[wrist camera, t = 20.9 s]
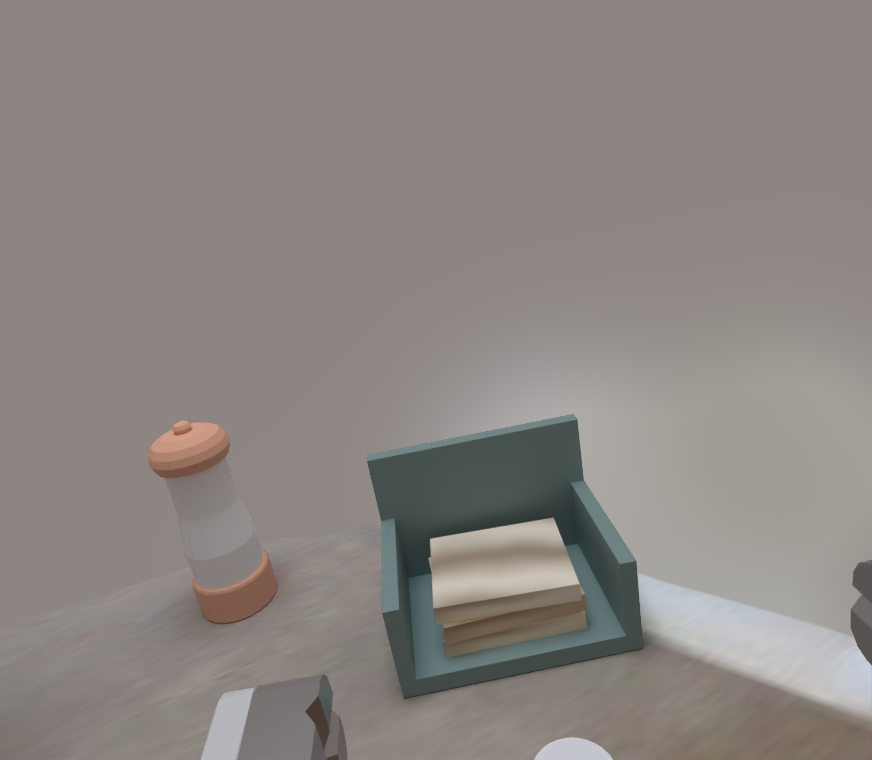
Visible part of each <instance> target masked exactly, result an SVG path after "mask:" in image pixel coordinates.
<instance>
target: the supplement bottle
mask: <svg viewBox="0 0 872 760" xmlns="http://www.w3.org/2000/svg"><path fill="white" fill-rule="evenodd" d="M534 760H613V759H612V757H611V756H610V755H609V754H608V753H607V752H606V751H605V750H604V749H603V748H602V747H600V746H599V745H597V744H595V743H593V742H591V741H588V740H585V739H581V738H563V739H559V740H556V741H553V742H551V743H549V744H548V745H546V746H545V747H544V748H543V749H541V751H540V752H539V753H538V754H537V755H536V757H535V759H534Z"/></svg>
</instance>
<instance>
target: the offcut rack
mask: <svg viewBox="0 0 872 760" xmlns="http://www.w3.org/2000/svg"><path fill="white" fill-rule="evenodd" d="M367 463H368V467H369V471H370V475H371V480H372V484H373V488H374V492H375V496H376V500H377V505H378V509H379V513H380V517H381V535H382V614H383V618H384V622H385V626H386V630H387V634H388V638H389V642H390V645H391V649H392V653H393V657H394V661H395V665H396V669H397V673H398V677H399V681H400V685H401V689H402V693H403V697H404V698H407V697H412V696H417V695H422V694H426V693H431V692H436V691H441V690H446V689H450V688H455V687H460V686H465V685H470V684H474V683H479V682H484V681H489V680H494V679H498V678H503V677H508V676H513V675H517V674H522V673H527V672H532V671H537V670H541V669H546V668H551V667H556V666H561V665H565V664H570V663H575V662H580V661H584V660H589V659H594V658H599V657H604V656H608V655H613V654H618V653H623V652H628V651H632V650H637V649H642V648H643V642H642V629H641V616H640V603H639V590H638V578H637V565H636V560H635V558H634V557H633V555H632V554H631V552H630V551H629V549H628V547H627V546H626V544H625V543H624V541H623V540H622V538H621V537H620V535H619V534H618V532H617V530H616V529H615V527H614V526H613V524H612V523H611V521H610V520H609V518H608V517H607V515H606V514H605V512H604V511H603V509H602V507H601V506H600V504H599V503H598V501H597V500H596V498H595V497H594V495H593V494H592V492H591V491H590V489H589V487H588V486H587V485H586V483H585V481H584V478H583V470H582V460H581V451H580V441H579V431H578V422H577V418H576V417H575V416H574V415H573V414H572V415H566V416H561V417H557V418H552V419H546V420H541V421H536V422H531V423H527V424H522V425H517V426H511V427H507V428H502V429H496V430H491V431H486V432H481V433H476V434H471V435H466V436H461V437H456V438H451V439H446V440H441V441H436V442H431V443H426V444H421V445H415V446H410V447H406V448H401V449H396V450H390V451H386V452H380V453H375V454H370V455H368V456H367ZM548 518H554V520H555V522H556V525H557V528H558V530H559V533H560V535H561V538H562V540H563V543H564V545H565V548H566V550H567V553H568V556H569V558H570V561H571V563H572V566H573V568H574V571H575V573H576V576H577V578H578V581H579V583H580V586H581V587H582V589H583V591H584V593H585V596H586V605H587V610H584V611H585V614H586V623H587V629H583V630H578V631H573V632H568V633H563V634H558V635H554V636H549V637H544V638H539V639H534V640H530V641H525V642H520V643H515V644H510V645H505V646H501V647H496V648H491V649H486V650H481V651H477V652H472V653H467V654H462V655H457V656H453V657H448V658H447V656H446V651H445V647H444V642H443V634H442V627H441V624H437V623H436V618H435V614H434V609H433V590H432V573H431V568H430V563H429V559H428V558H430V557H431V548H430V539H432V538H437V537H443V536H449V535H455V534H461V533H467V532H472V531H478V530H484V529H490V528H496V527H501V526H507V525H513V524H519V523H525V522H531V521H536V520H542V519H548Z"/></svg>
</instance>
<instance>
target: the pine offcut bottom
mask: <svg viewBox="0 0 872 760" xmlns="http://www.w3.org/2000/svg"><path fill="white" fill-rule="evenodd" d="M441 627H442V634H443V642H444V647H445V651H446V656H447V658H448V657H453V656H457V655H462V654H467V653H472V652H477V651H481V650H486V649H491V648H496V647H501V646H505V645H510V644H515V643H520V642H525V641H530V640H534V639H539V638H544V637H549V636H554V635H558V634H563V633H568V632H573V631H578V630H583V629H587V623H586V614H585V611H580V612H576V613H572V614H568V615H564V616H560V617H556V618H552V619H548V620H544V621H540V622H536V623H532V624H527V625H523V626H519V627H515V628H511V629H507V630H503V631H499V632H495V633H491V634H487V635H483V636H479V637H475V638H471V639H467V640H463V641H459V642H455V643H451V644H447V642H446V637H445V632H444V628H443V624H441Z"/></svg>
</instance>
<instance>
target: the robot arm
mask: <svg viewBox="0 0 872 760" xmlns="http://www.w3.org/2000/svg"><path fill="white" fill-rule="evenodd" d="M853 586H854V587H855V588H856V589H857V590H858V591H859V593H860V594H861V596H860V598H859V599H858V600H857V602H856V603H855V604H854V606H853V607H852V608H851V629H852V632H853V635H854V638H855V640H856V643H857V646H858V647H859V649H860V650H861V652H862V653H863V655H864V656H865V658H866V659H867V661H868V662H869V663H870V664H871V665H872V560H869V561H865V562H860V563H859V564H858V565H857V567H856V568H855V570H854V573H853ZM332 697H333V693H332V690H331V687H330V684H329V681H328V678H327V676H325V675H323V674H322V675H316V676H311V677H305V678H300V679H294V680H289V681H283V682H278V683H272V684H267V685H261V686H258V687H256V688H250V689H244V690H238V691H232V692H227V693H224V694H223V696H222V697H221V698H220V700H219V701H218V703H217V706H216V709H215V712H214V716H213V719H212V722H211V726H210V729H209V732H208V735H207V739H206V742H205V745H204V749H203V752H202V755H201V759H200V760H347V747H346V740H345V735H344V729H343V726H342V722H341V719H340V716H339V715H337V714H336V713H334V712H333V711H331V710H332Z"/></svg>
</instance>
